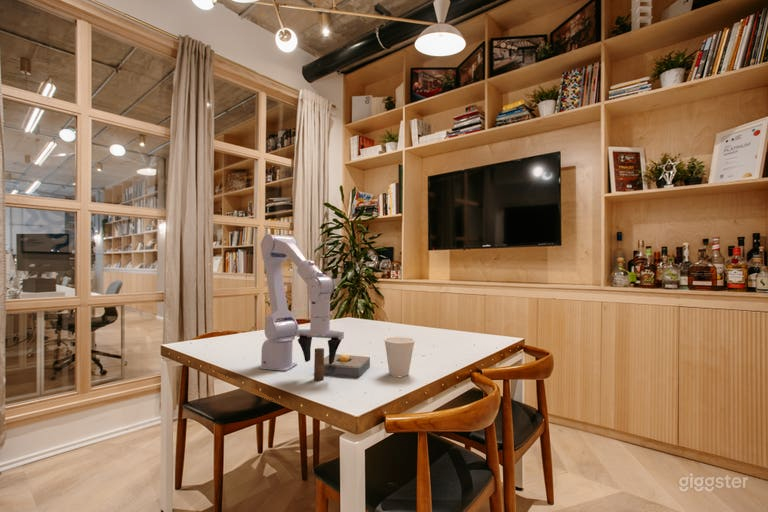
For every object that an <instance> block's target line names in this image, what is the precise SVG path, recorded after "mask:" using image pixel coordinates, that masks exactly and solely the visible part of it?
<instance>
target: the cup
mask: <svg viewBox="0 0 768 512" xmlns="http://www.w3.org/2000/svg"><path fill="white" fill-rule="evenodd" d="M383 341H384V345H385V352H386V353H385V354H386V359H387V360H386V361H387V365H388V366H387V367H388V373H389V375H390V376H392V377H394V376H405V377H407V376H408V375H409V373H410V368H411V367H410V366H411V362H412V356H413V351H414V346H415V342H416V339H414V338H412V337H409V336H388V337H385V338H384V339H383ZM406 375H407V376H406Z"/></svg>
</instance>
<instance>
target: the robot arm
mask: <svg viewBox="0 0 768 512" xmlns="http://www.w3.org/2000/svg"><path fill="white" fill-rule="evenodd" d="M260 250H261V257H262V260H263V262H264V264H263V265H264V269H265V271H264V272H265V276H266V283H267V284H266V285H267V290H268V296H269V304H270V313H269V314H268V315H267V316H266V317H265V319H264V323H265V325H264V335H265V337H266V339H265V340H264V341H263V343H262V346H261V356H260V357H261V358H260V359H261V361H260V367H259V369H262V370H270V371H280V372H287V371H288V370H290V369H292V368H294V367H296V366H297V365H298V363H297V362H293V346H294V345H293V340H295V339H296V337H298V339H297V342H298V344H299V345H300V348H301V350H302V355H303V358H304V362H305V363H307V362H309V361H311V347H312V340H313V338H316V339H317V338H318V339H319V338H321V339H328V340H327V345H328V355H329V364H332V363H333V362H334V358H335V354H337V350H338V348H339V346H340V344H341V342H342V340H344V339H345V332H344V331H336V330H331V328H330V327H331V326H330V325H331V322H330V321H331V295H332V294H333V293H334V291H335V282H334V279H333V278H332V276H331V275H326V274H323V271H321V270H320V269H319V267H317V265H316V262H315V261H314V260H310V259H306V257H305V256H304V255H303V253H302V252H301V250H300V249H299V247H298V246H297V241H296V239H295V238H294V237H293V236H292V235H282V234H271V233H266V234H264V236H263V237H262V240H261V242H260ZM287 259H289V260H290V261H291V262H292V263H293V264H294V265H295V266H296V267H297V268H296V273H297V274H298V275H299V276H300V278H301V279H302V280H303V281H304V283H305V284H306V291H307V293H308V299H309V301H310V322H309V323H310V325H309V326H310V328H309V329H308V328H307V329H300V328H299V324H298V322H297V320H296V315H295V314H294V312H292V311H290V310H289V308H288V303H287V302H288V301H287V296H286V295H287V294H286V289H285V284H284V283H285V282H284V276H283V269H282V263H283V262H285V261H286V260H287Z"/></svg>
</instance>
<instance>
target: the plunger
mask: <svg viewBox="0 0 768 512" xmlns="http://www.w3.org/2000/svg"><path fill="white" fill-rule="evenodd" d="M339 355H340V356H339V361H341V362H349V355H348V354H339Z"/></svg>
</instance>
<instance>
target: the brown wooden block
mask: <svg viewBox="0 0 768 512" xmlns="http://www.w3.org/2000/svg"><path fill="white" fill-rule="evenodd" d="M324 358H325V348H323V347H321V348H320V347H319V348H318V347H317V348H315V349H314V366H313V368H314V369H313V370H314V371H313V372H314V373H313V380H314V381H316V382H322V381H323V380H324V375H325V374H324Z"/></svg>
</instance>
